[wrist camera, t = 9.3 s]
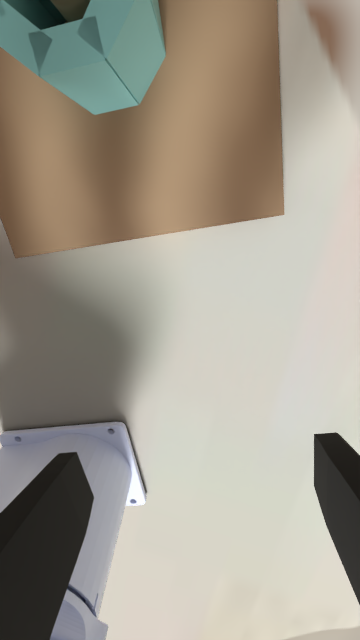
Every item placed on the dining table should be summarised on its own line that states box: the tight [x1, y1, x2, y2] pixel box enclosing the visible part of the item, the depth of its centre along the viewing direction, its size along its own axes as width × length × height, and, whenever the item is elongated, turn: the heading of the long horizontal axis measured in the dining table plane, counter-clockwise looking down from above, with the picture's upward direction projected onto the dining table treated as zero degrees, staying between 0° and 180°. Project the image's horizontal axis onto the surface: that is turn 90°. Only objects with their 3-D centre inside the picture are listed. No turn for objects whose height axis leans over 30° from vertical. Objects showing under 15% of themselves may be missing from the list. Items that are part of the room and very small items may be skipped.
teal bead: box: [0, 0, 166, 115], centre depth 10 cm, size 5×5×5 cm
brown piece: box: [0, 0, 284, 258], centre depth 10 cm, size 14×16×7 cm
